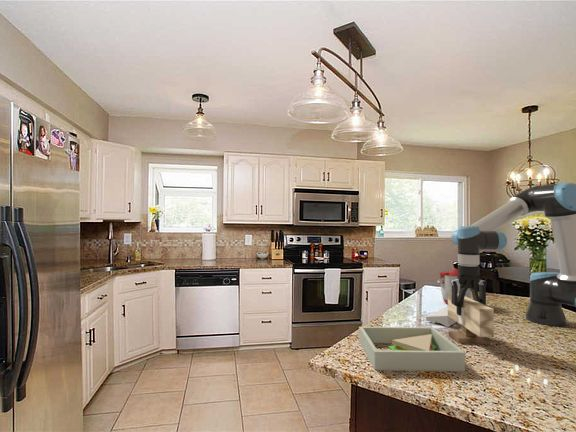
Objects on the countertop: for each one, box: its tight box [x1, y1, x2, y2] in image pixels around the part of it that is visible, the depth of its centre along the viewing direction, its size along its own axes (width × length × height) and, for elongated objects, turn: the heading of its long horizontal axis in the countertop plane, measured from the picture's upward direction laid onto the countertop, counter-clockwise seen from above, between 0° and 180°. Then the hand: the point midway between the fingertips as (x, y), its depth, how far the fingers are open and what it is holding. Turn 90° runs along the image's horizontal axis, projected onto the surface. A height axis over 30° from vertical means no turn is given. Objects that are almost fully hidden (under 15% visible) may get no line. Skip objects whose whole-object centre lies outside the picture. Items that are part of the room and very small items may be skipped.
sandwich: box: [387, 334, 436, 351], centre depth 113 cm, size 15×20×5 cm
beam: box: [447, 293, 495, 338], centre depth 127 cm, size 5×24×10 cm, turn 179°
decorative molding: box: [425, 305, 457, 328], centre depth 156 cm, size 34×5×10 cm
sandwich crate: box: [358, 326, 466, 372], centre depth 112 cm, size 28×23×6 cm
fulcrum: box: [448, 325, 491, 345], centre depth 127 cm, size 12×8×5 cm, turn 89°
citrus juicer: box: [437, 268, 472, 305], centre depth 181 cm, size 16×17×20 cm
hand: (468, 323), depth 127 cm, fingers closed on beam, 5 cm apart
